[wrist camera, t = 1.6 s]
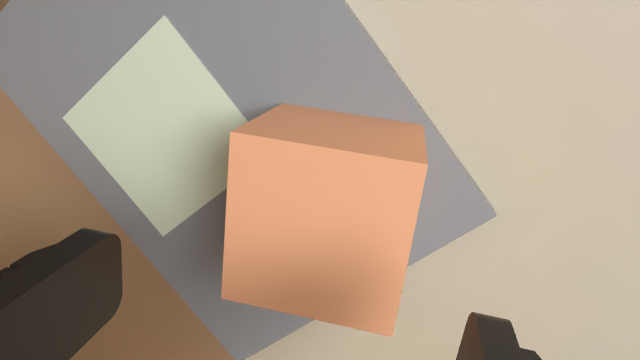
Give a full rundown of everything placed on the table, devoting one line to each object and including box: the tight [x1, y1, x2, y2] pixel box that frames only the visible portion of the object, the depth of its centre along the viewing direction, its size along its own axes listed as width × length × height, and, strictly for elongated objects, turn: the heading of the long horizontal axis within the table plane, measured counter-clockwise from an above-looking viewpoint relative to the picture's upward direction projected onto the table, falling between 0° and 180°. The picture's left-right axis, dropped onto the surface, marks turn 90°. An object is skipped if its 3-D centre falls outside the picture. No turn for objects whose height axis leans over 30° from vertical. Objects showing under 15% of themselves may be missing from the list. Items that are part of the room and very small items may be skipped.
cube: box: [221, 103, 428, 337], centre depth 17 cm, size 6×6×6 cm
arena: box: [0, 0, 496, 360], centre depth 18 cm, size 22×17×8 cm
